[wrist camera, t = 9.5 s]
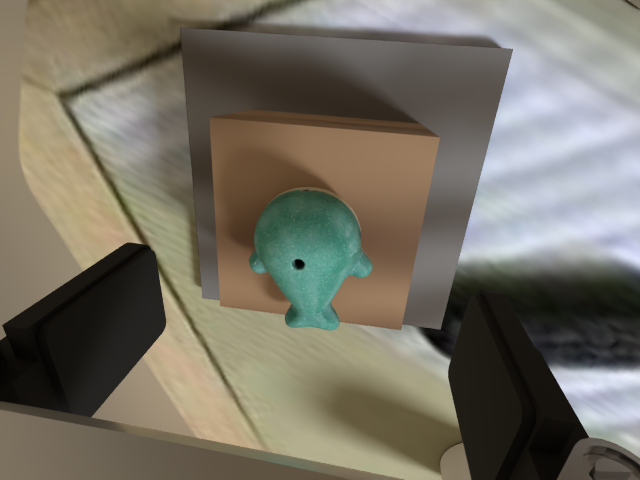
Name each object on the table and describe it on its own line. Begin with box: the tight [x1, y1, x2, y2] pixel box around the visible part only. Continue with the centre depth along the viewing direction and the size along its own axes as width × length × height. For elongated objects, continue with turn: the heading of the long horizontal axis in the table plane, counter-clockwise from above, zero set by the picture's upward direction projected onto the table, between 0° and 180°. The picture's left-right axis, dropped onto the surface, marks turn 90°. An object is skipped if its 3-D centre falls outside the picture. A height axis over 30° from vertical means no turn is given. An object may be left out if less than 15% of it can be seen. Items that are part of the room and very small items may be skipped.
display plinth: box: [180, 28, 513, 330], centre depth 20 cm, size 18×18×7 cm
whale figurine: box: [249, 187, 373, 330], centre depth 16 cm, size 6×7×4 cm
